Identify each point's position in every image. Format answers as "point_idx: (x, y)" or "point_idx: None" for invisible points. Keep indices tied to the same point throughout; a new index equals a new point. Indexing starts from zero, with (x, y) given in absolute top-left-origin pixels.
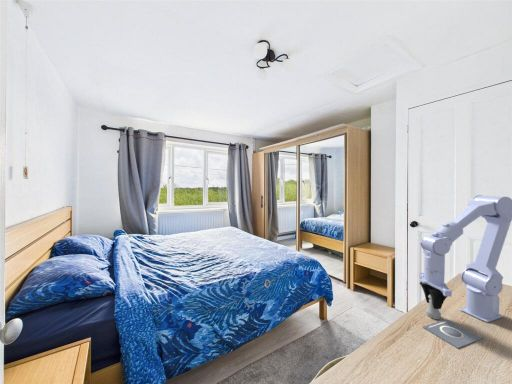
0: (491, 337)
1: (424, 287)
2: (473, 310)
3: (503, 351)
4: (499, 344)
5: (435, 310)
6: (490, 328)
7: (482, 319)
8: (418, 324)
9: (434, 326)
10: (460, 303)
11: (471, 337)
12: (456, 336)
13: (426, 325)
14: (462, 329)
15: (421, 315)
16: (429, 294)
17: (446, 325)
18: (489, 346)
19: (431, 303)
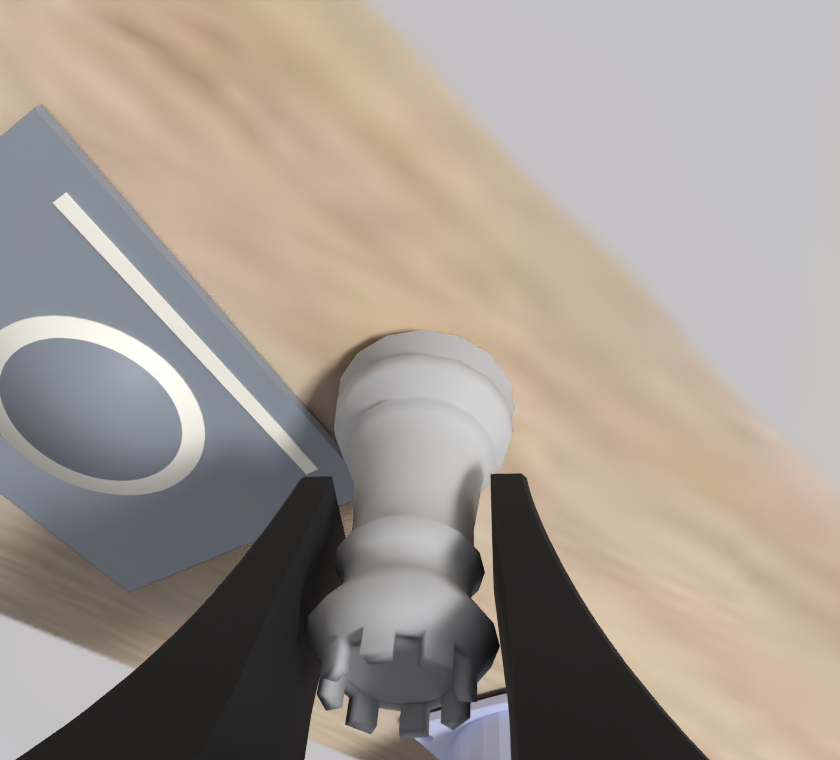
0: None
1: (516, 757)
2: (499, 755)
3: (17, 609)
4: (107, 633)
5: (353, 470)
6: None
7: (430, 720)
8: (110, 74)
9: (131, 286)
10: (727, 725)
11: (86, 524)
12: (15, 415)
13: (99, 185)
14: (199, 526)
15: (412, 251)
16: (423, 648)
17: (217, 429)
18: (34, 569)
19: (371, 512)
